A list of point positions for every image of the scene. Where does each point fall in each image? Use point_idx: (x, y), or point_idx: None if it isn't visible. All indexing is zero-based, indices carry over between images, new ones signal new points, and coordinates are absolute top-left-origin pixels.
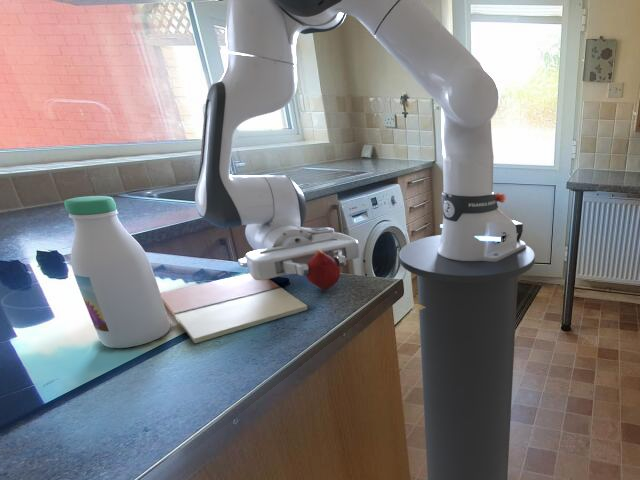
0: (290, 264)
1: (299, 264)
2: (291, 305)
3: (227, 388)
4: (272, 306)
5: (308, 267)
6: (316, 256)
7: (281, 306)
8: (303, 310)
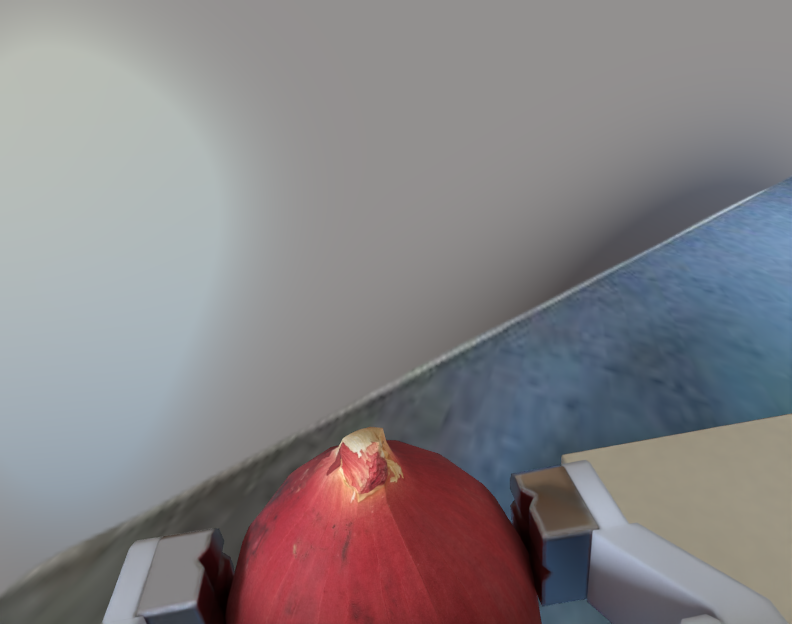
0: (690, 557)
1: (588, 513)
2: (645, 483)
3: (732, 245)
4: (764, 515)
5: (511, 477)
6: (409, 462)
7: (703, 493)
8: None
